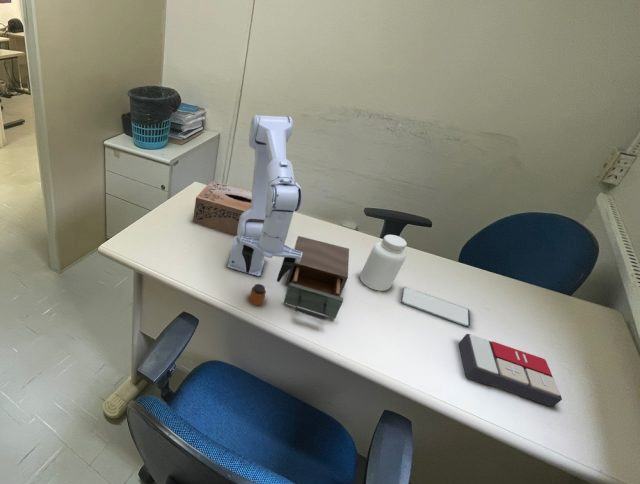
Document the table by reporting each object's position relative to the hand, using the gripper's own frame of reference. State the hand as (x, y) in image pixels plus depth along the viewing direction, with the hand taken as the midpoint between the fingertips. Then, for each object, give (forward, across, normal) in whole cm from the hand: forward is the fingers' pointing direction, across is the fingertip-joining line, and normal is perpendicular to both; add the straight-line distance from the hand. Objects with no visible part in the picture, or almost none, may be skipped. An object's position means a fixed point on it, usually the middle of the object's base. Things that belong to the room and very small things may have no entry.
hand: (263, 274), depth 101 cm
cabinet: (+9, +13, +17) cm, 23 cm away
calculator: (+10, +54, +2) cm, 55 cm away
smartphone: (+9, +43, +19) cm, 48 cm away
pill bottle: (+9, +29, +23) cm, 38 cm away
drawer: (+8, +13, +5) cm, 16 cm away
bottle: (+9, 0, 0) cm, 9 cm away
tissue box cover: (+9, -14, +35) cm, 39 cm away
